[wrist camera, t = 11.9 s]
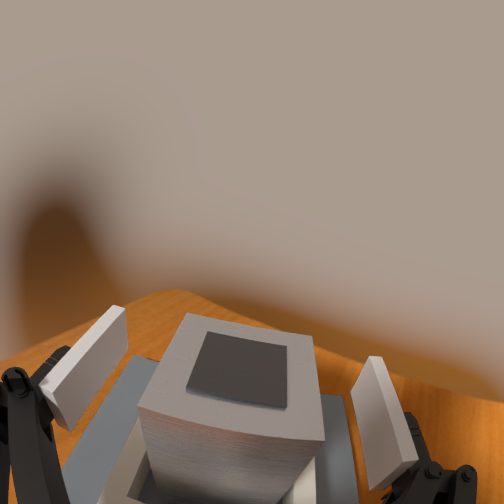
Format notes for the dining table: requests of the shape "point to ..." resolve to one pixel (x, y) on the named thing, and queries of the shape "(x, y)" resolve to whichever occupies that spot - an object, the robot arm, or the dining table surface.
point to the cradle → (138, 466)
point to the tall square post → (231, 413)
